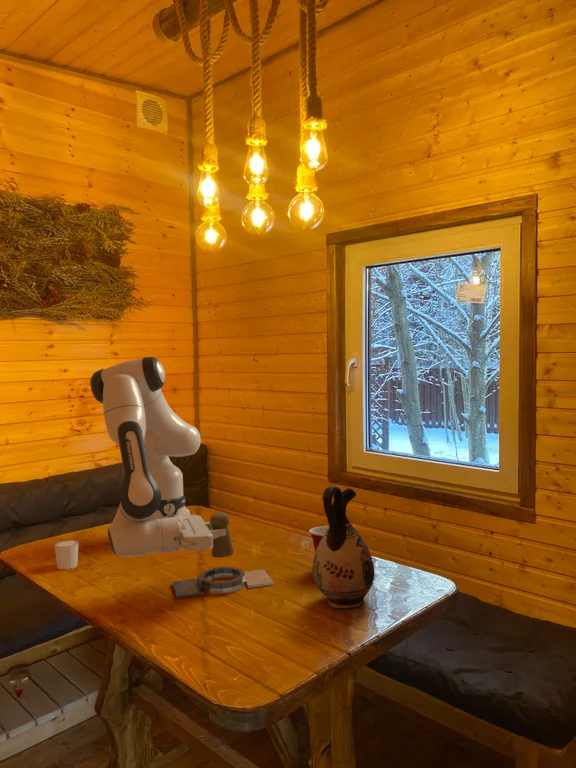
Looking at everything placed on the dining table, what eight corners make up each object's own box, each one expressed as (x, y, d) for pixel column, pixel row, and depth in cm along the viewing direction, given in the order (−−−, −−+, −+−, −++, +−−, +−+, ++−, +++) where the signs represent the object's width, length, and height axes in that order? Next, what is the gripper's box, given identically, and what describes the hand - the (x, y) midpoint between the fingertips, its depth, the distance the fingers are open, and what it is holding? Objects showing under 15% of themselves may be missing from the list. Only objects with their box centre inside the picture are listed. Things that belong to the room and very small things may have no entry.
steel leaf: (197, 579, 172) (197, 575, 172) (262, 570, 178) (262, 566, 178) (204, 596, 161) (204, 591, 161) (274, 586, 167) (274, 581, 167)
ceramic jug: (333, 584, 167) (331, 475, 165) (385, 597, 158) (383, 481, 156) (297, 607, 153) (295, 488, 151) (352, 623, 144) (350, 496, 142)
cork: (238, 550, 169) (234, 511, 168) (224, 558, 164) (220, 518, 163) (220, 548, 172) (217, 509, 171) (207, 556, 167) (203, 516, 166)
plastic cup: (344, 562, 184) (343, 522, 183) (350, 575, 173) (350, 533, 172) (308, 563, 183) (307, 524, 182) (312, 577, 172) (311, 535, 171)
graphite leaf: (171, 583, 170) (171, 573, 170) (239, 574, 176) (238, 564, 176) (177, 600, 159) (177, 589, 159) (249, 589, 165) (249, 579, 164)
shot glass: (84, 564, 187) (83, 541, 187) (66, 571, 181) (65, 548, 181) (68, 560, 190) (66, 538, 190) (50, 568, 184) (49, 545, 184)
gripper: (176, 534, 153) (231, 528, 158) (167, 513, 173) (216, 508, 177) (177, 559, 154) (232, 552, 158) (168, 535, 173) (217, 529, 177)
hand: (223, 528), depth 168 cm, fingers closed on cork, 4 cm apart
